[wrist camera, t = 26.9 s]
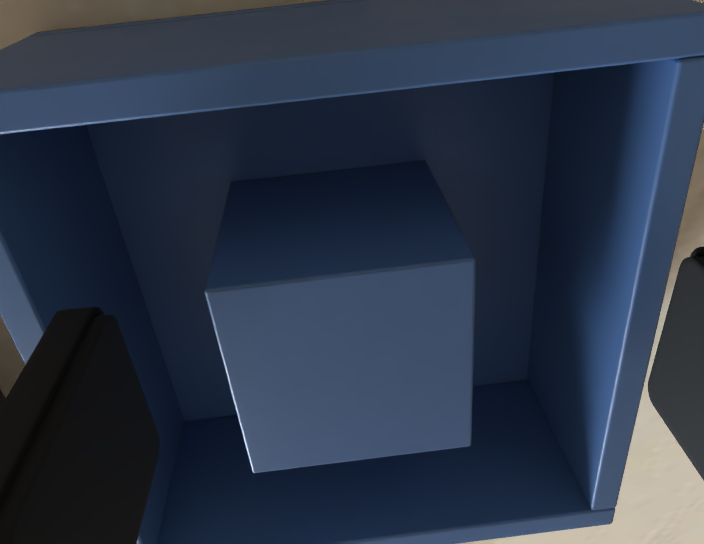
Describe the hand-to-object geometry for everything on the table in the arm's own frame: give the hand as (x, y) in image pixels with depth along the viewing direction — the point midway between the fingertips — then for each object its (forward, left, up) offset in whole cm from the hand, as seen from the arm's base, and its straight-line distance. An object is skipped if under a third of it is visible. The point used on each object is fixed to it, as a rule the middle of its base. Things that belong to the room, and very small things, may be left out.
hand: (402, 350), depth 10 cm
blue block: (+1, -1, -5) cm, 5 cm away
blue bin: (+1, -1, -6) cm, 6 cm away
